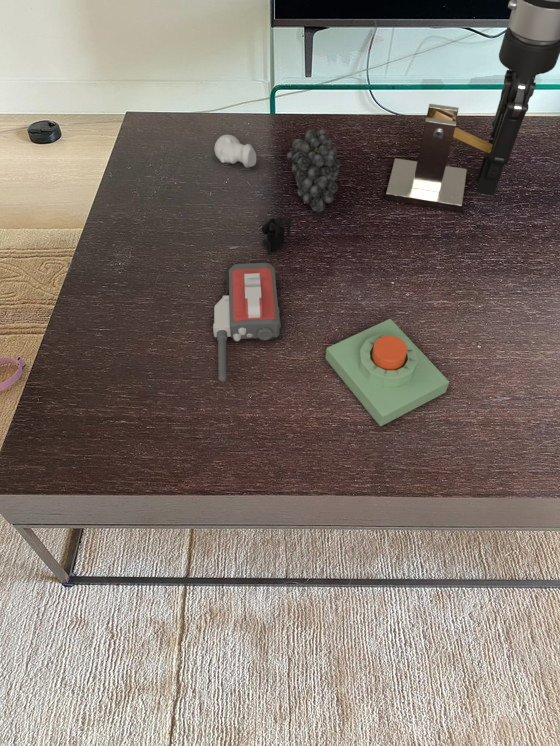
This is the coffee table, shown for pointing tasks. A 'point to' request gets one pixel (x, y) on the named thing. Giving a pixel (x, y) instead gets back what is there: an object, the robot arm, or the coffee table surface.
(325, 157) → the fruit
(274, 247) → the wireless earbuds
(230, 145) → the smooth white sculpture
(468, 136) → the switch lever
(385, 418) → the switch box
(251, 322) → the walkie-talkie
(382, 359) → the switch button
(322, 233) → the coffee table surface
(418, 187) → the switch bracket
